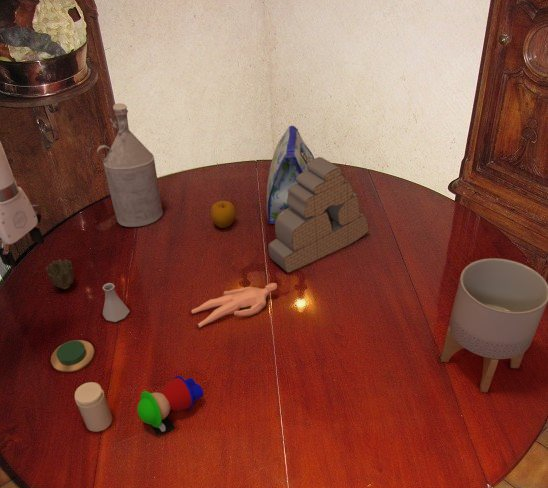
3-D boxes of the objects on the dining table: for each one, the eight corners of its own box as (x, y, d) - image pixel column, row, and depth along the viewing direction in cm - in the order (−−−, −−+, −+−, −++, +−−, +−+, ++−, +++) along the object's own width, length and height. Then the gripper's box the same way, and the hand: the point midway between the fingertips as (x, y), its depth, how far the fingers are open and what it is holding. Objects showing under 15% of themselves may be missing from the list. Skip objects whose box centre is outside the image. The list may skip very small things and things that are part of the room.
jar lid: (88, 343, 149) (86, 339, 148) (85, 363, 143) (83, 359, 142) (60, 346, 148) (58, 342, 147) (56, 366, 143) (54, 362, 142)
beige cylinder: (83, 433, 128) (71, 404, 121) (87, 411, 133) (75, 383, 126) (111, 430, 129) (100, 401, 122) (113, 408, 133) (103, 379, 126)
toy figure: (186, 394, 139) (131, 419, 130) (184, 363, 134) (127, 387, 126) (206, 413, 133) (150, 441, 125) (206, 382, 128) (147, 409, 120)
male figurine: (187, 300, 156) (268, 270, 162) (190, 312, 160) (270, 283, 166) (198, 324, 149) (283, 292, 155) (202, 337, 152) (285, 305, 158)
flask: (115, 326, 154) (106, 298, 148) (98, 315, 158) (89, 288, 151) (134, 311, 159) (127, 284, 152) (117, 301, 162) (110, 274, 155)
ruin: (347, 219, 189) (346, 138, 168) (368, 233, 183) (370, 151, 162) (266, 262, 177) (255, 181, 156) (286, 279, 171) (276, 197, 150)
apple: (227, 235, 185) (225, 212, 179) (206, 228, 189) (203, 206, 183) (241, 222, 191) (239, 200, 185) (220, 216, 194) (218, 194, 188)
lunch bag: (315, 226, 188) (317, 155, 171) (265, 226, 189) (262, 155, 171) (314, 191, 205) (316, 123, 187) (269, 191, 205) (266, 124, 188)
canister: (110, 215, 196) (82, 104, 170) (158, 202, 202) (137, 93, 175) (119, 233, 188) (91, 120, 161) (168, 219, 193) (149, 108, 167)
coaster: (47, 374, 142) (47, 373, 141) (55, 343, 150) (54, 342, 150) (92, 369, 143) (91, 368, 142) (96, 339, 151) (96, 337, 150)
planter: (443, 388, 135) (465, 309, 118) (437, 333, 149) (456, 255, 132) (524, 395, 133) (559, 316, 116) (511, 339, 147) (540, 260, 129)
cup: (49, 295, 165) (41, 274, 159) (57, 279, 170) (50, 258, 165) (74, 295, 164) (67, 274, 159) (82, 279, 170) (75, 258, 165)
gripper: (-17, 214, 115) (11, 278, 126) (39, 174, 126) (60, 236, 138) (-45, 207, 117) (-14, 271, 128) (13, 169, 129) (36, 230, 140)
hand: (24, 253), depth 133 cm, fingers open, 9 cm apart
